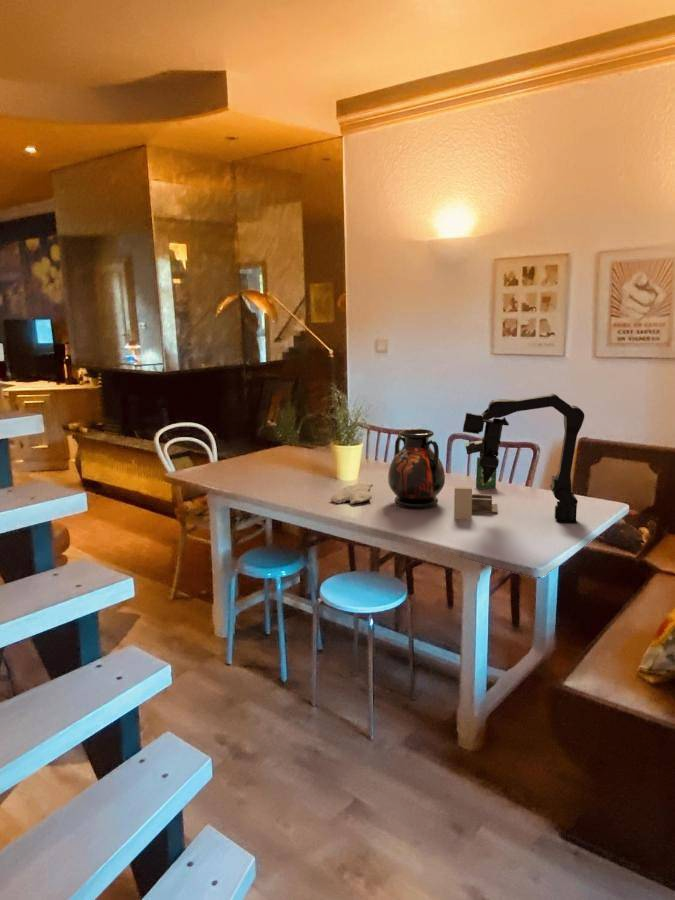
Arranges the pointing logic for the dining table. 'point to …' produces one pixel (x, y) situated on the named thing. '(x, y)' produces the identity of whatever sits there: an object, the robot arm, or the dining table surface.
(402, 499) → the amphora vase
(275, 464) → the dining table surface
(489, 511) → the slot rack
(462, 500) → the tan rectangular block
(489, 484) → the coffee box
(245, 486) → the dining table surface
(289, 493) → the dining table surface
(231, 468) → the dining table surface
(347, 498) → the rock
